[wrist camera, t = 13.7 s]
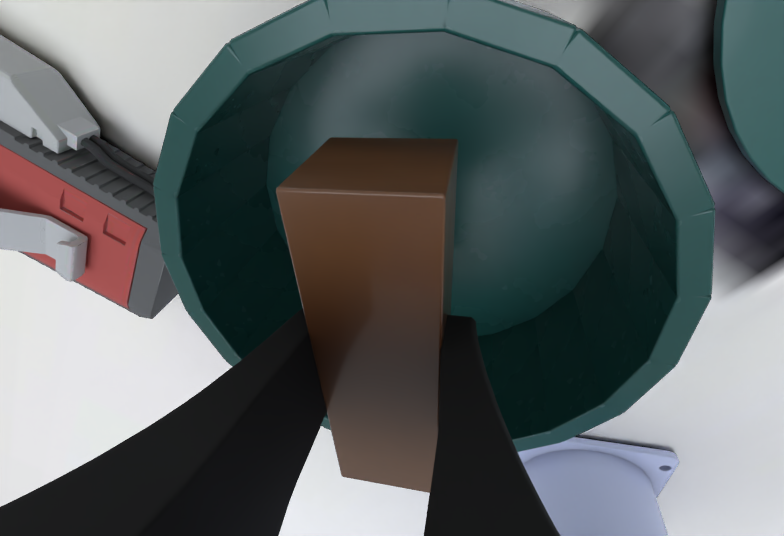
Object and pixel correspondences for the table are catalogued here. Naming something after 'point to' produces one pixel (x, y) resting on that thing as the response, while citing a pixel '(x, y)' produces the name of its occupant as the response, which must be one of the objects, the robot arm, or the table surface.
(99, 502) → the robot arm
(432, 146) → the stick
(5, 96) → the walkie-talkie
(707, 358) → the table surface
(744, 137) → the tin lid
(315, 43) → the tin
